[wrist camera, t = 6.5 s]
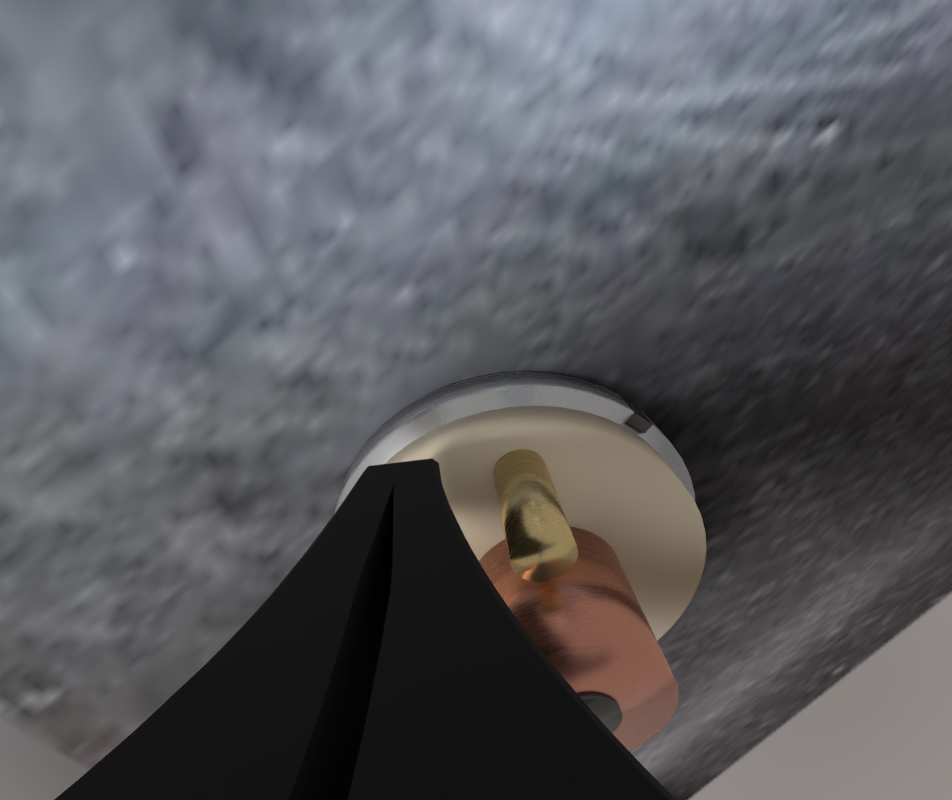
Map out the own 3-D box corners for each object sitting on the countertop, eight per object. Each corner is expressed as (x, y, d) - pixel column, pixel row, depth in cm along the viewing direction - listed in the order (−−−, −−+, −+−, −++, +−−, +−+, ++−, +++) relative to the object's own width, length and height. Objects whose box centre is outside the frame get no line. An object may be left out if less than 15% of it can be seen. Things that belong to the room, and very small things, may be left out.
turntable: (664, 639, 15) (726, 768, 12) (378, 678, 15) (364, 821, 12) (707, 384, 11) (825, 479, 8) (304, 430, 11) (248, 549, 7)
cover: (617, 622, 13) (673, 759, 10) (477, 644, 13) (490, 789, 10) (623, 515, 11) (692, 643, 8) (458, 539, 11) (469, 678, 8)
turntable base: (660, 617, 17) (673, 644, 16) (373, 656, 16) (369, 685, 15) (702, 350, 12) (725, 366, 11) (294, 395, 11) (282, 416, 10)
